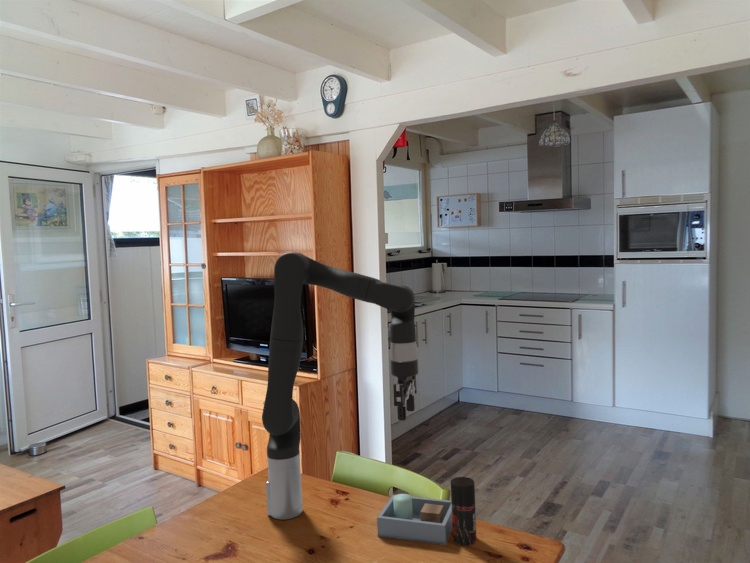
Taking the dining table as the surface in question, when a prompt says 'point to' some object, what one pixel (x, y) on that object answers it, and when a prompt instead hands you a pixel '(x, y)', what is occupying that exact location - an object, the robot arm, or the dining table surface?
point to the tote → (415, 523)
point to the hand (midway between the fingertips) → (406, 415)
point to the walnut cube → (432, 513)
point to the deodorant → (463, 511)
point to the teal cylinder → (403, 506)
